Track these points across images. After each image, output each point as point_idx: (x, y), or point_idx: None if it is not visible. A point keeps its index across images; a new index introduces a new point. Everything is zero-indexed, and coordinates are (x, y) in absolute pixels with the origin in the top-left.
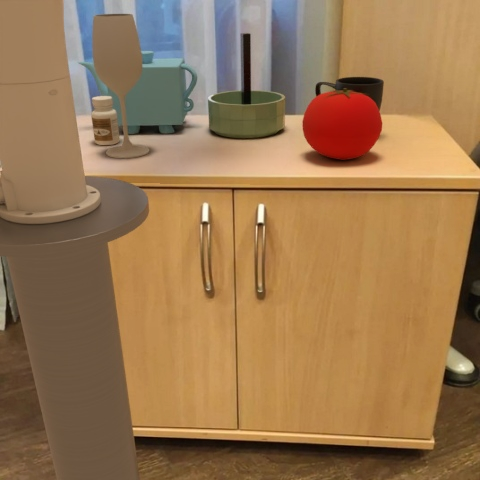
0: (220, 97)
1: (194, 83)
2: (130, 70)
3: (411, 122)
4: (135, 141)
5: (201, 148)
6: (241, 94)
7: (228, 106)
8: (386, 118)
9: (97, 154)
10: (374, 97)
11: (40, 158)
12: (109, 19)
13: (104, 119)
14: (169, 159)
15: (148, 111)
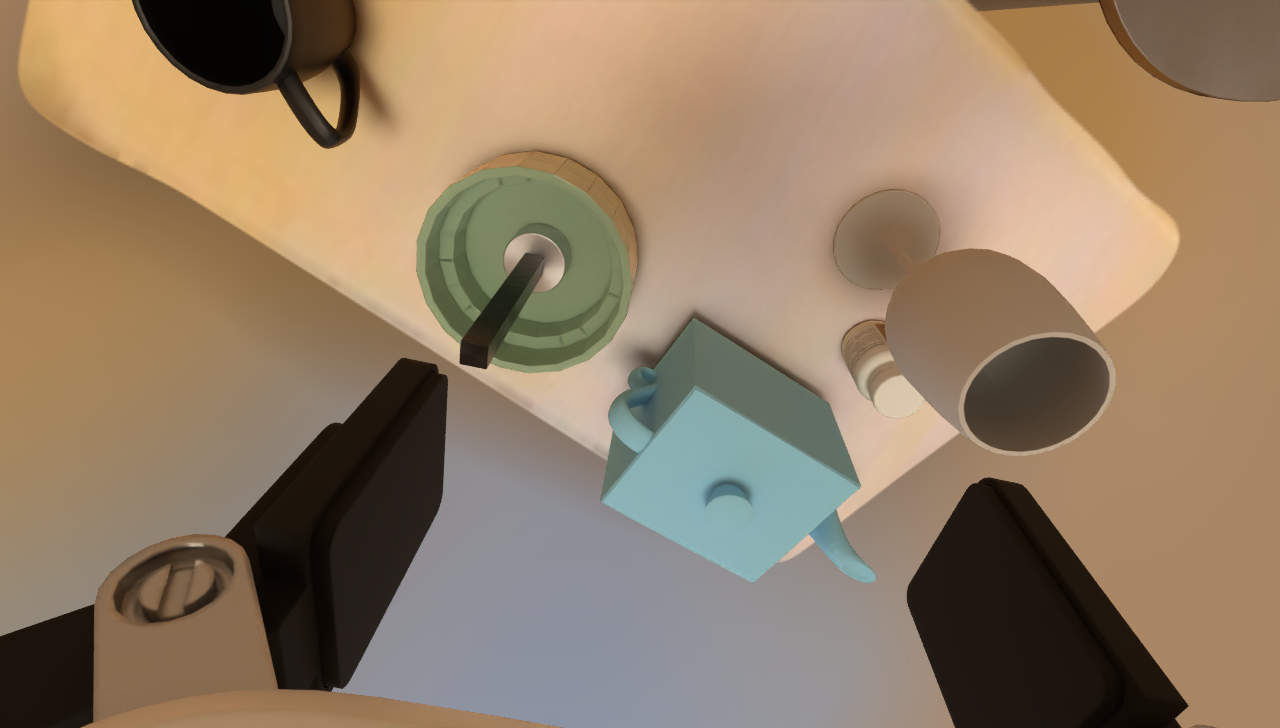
0: (559, 358)
1: (626, 391)
2: (970, 250)
3: (89, 40)
4: (815, 317)
5: (728, 164)
6: (532, 291)
7: (615, 223)
8: (142, 126)
9: None
10: None
11: None
12: (1094, 338)
13: None
14: (847, 121)
15: (761, 374)
